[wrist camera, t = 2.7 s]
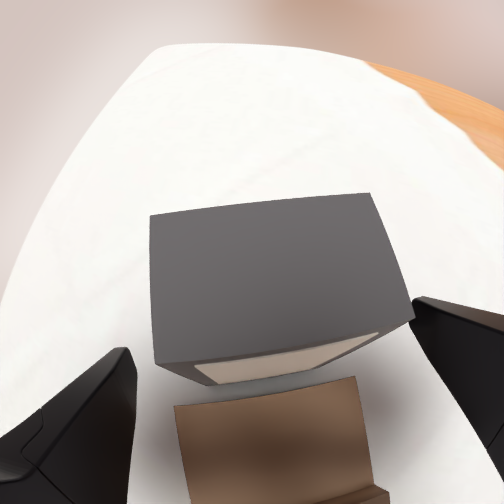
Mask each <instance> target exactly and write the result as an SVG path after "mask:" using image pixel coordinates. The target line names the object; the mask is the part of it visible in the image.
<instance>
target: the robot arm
mask: <svg viewBox="0 0 504 504" xmlns="http://www.w3.org/2000/svg"><path fill="white" fill-rule="evenodd" d="M411 304H412V307H413V311H414V314H415V318H414V319H412V320H411V321H409V326H410V328H411V330H412V332H413V333H414V335H415V337H416V339H417V340H418V342H419V344H420V346H421V348H422V349H423V351H424V353H425V355H426V356H427V358H428V360H429V361H430V363H431V364H432V366H433V367H434V369H435V370H436V372H437V373H438V374H439V376H440V377H441V379H442V380H443V382H444V383H445V385H446V386H447V388H448V389H449V391H450V392H451V394H452V395H453V397H454V398H455V400H456V401H457V403H458V405H459V406H460V408H461V409H462V411H463V412H464V414H465V416H466V417H467V419H468V420H469V422H470V424H471V425H472V427H473V429H474V430H475V432H476V433H477V435H478V437H479V439H480V440H481V442H482V444H483V445H484V447H485V449H487V450H486V451H487V453H488V454H489V456H490V458H491V460H492V461H493V463H494V465H495V467H496V469H497V471H498V472H499V474H500V476H501V478H502V480H503V482H504V315H501V314H497V313H493V312H488V311H484V310H480V309H476V308H471V307H467V306H463V305H459V304H454V303H450V302H446V301H442V300H438V299H433V298H429V297H425V296H421V297H418V298H414V299H413V300H412V302H411ZM136 402H137V369H136V366H135V364H134V361H133V358H132V355H131V353H130V350H129V349H128V348H127V347H117V348H114V349H113V350H111V351H110V352H109V353H108V354H106V355H105V356H104V357H103V358H101V359H100V360H99V361H98V362H96V363H95V364H94V365H93V366H91V367H90V368H89V369H88V370H86V371H85V372H84V373H83V374H81V375H80V376H79V377H78V378H76V379H75V380H74V381H73V382H71V383H70V384H69V385H68V386H67V387H65V388H64V389H63V390H62V391H60V392H59V393H58V394H57V395H55V396H54V397H53V398H52V399H51V400H49V401H48V402H47V403H46V404H44V405H43V406H42V407H41V409H38V410H37V411H36V412H35V413H33V414H32V415H31V416H30V417H28V418H27V419H26V420H24V421H23V422H22V423H21V424H19V425H18V426H16V427H15V428H14V429H12V430H11V431H9V432H8V433H7V434H5V435H4V436H2V437H1V438H0V504H127V494H128V482H129V472H130V462H131V453H132V445H133V437H134V430H135V422H136Z"/></svg>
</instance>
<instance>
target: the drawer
mask: <svg viewBox="0 0 504 504" xmlns="http://www.w3.org/2000/svg"><path fill="white" fill-rule="evenodd" d="M174 412H175V419H176V426H177V432H178V438H179V444H180V450H181V455H182V461H183V466H184V471H185V476H186V481H187V486H188V490H189V495H190V499H191V504H390V497H389V492H388V491H386V490H384V489H382V488H380V487H378V486H376V485H374V481H373V473H372V467H371V460H370V453H369V447H368V441H367V435H366V429H365V424H364V418H363V413H362V408H361V402H360V397H359V392H358V388H357V383H356V378H355V376H352V377H348V378H345V379H341V380H337V381H333V382H329V383H324V384H320V385H316V386H311V387H307V388H302V389H297V390H292V391H287V392H282V393H276V394H271V395H265V396H259V397H252V398H246V399H239V400H231V401H223V402H214V403H205V404H194V405H181V406H174Z"/></svg>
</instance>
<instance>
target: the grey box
mask: <svg viewBox="0 0 504 504" xmlns="http://www.w3.org/2000/svg"><path fill="white" fill-rule="evenodd" d="M149 251H150V298H151V319H152V334H153V348H154V359H155V364H156V365H158V366H160V367H162V368H165V369H167V370H169V371H171V372H174V373H176V374H178V375H181V376H183V377H186V378H188V379H190V380H193V381H195V382H198V383H200V384H203V385H205V386H211V385H220V384H228V383H235V382H243V381H249V380H256V379H262V378H268V377H274V376H280V375H285V374H291V373H296V372H301V371H306V370H310V369H315V368H319V367H321V366H323V365H325V364H328V363H330V362H332V361H334V360H336V359H338V358H340V357H342V356H345V355H347V354H349V353H351V352H353V351H355V350H357V349H359V348H361V347H363V346H365V345H367V344H369V343H371V342H372V341H374V340H376V339H378V338H380V337H382V336H384V335H386V334H387V333H389V332H391V331H393V330H395V329H397V328H398V327H400V326H402V325H404V324H405V323H407V322H409V321H411V320H412V319H414V318H415V314H414V311H413V307H412V304H411V301H410V298H409V295H408V291H407V288H406V285H405V282H404V279H403V276H402V273H401V271H400V268H399V265H398V262H397V259H396V256H395V254H394V251H393V248H392V246H391V243H390V240H389V238H388V235H387V233H386V230H385V228H384V225H383V223H382V220H381V218H380V216H379V213H378V211H377V208H376V206H375V204H374V201H373V199H372V197H371V195H370V193H357V194H342V195H329V196H316V197H304V198H293V199H282V200H272V201H262V202H253V203H244V204H235V205H226V206H218V207H210V208H202V209H194V210H186V211H179V212H172V213H165V214H158V215H151V216H150V244H149Z"/></svg>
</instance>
